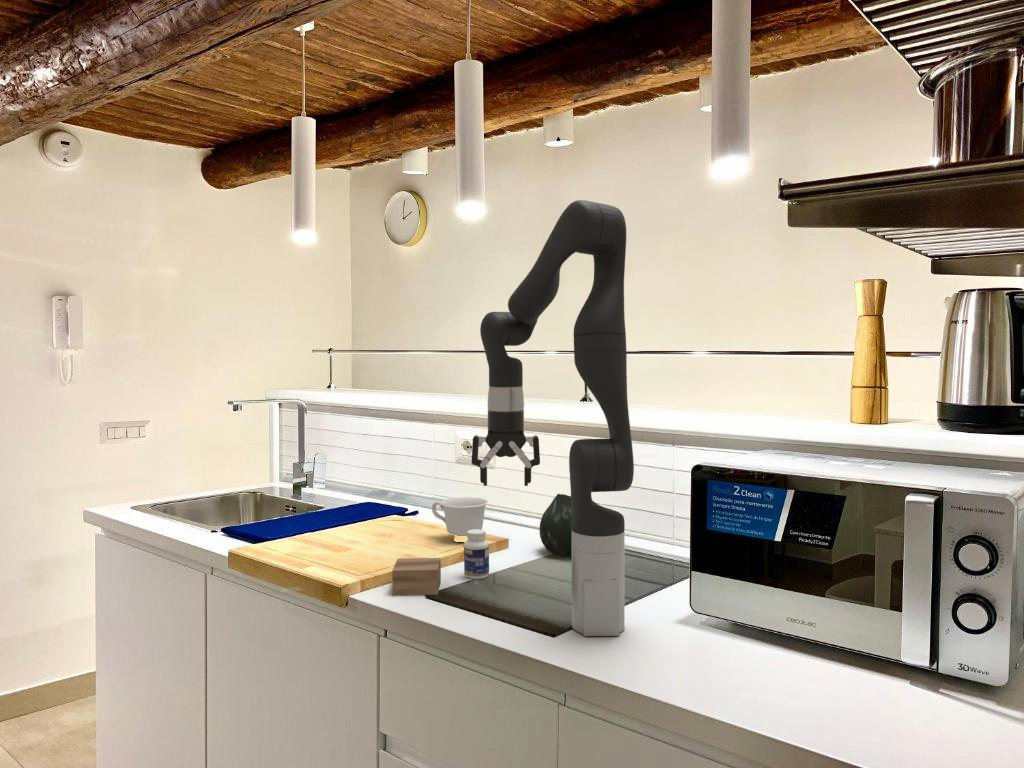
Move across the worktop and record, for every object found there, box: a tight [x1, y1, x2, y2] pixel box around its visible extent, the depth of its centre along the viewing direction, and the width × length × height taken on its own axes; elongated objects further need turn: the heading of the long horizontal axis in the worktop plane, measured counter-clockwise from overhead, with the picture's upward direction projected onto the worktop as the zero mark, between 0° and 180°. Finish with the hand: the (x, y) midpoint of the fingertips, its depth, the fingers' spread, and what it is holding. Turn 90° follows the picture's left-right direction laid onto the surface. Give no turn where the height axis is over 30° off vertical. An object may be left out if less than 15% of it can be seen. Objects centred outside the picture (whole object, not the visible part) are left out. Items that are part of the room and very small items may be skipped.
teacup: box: [431, 496, 489, 536], centre depth 200 cm, size 12×15×10 cm
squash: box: [539, 493, 572, 558], centre depth 188 cm, size 14×15×15 cm
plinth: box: [391, 557, 442, 596], centre depth 161 cm, size 9×9×5 cm
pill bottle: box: [463, 529, 490, 580], centre depth 169 cm, size 5×5×10 cm
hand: (505, 485), depth 164 cm, fingers open, 8 cm apart
